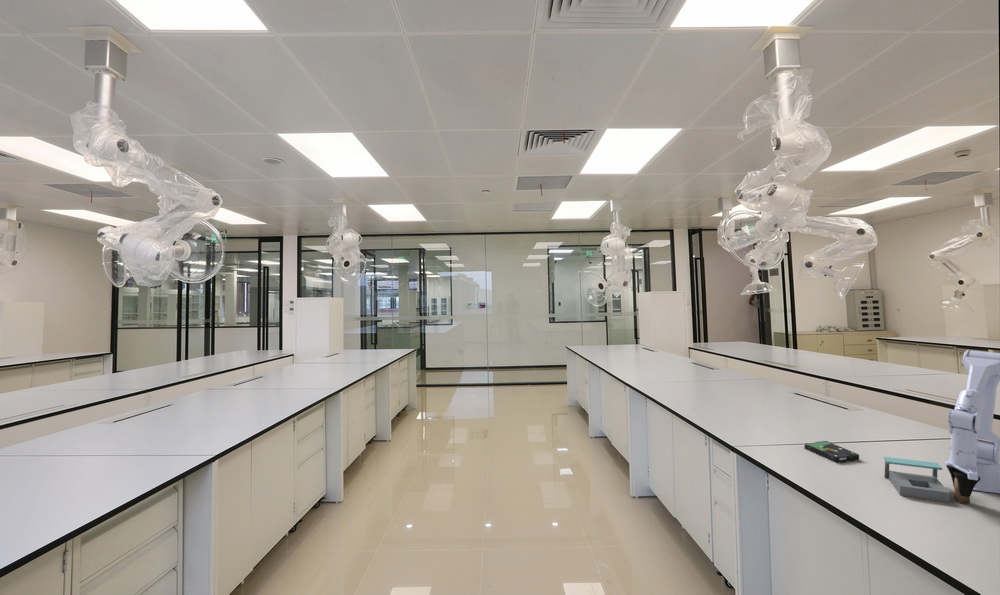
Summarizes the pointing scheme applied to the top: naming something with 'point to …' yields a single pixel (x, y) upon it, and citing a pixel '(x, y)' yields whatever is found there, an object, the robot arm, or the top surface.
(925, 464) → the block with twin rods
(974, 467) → the robot arm
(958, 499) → the peg
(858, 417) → the top surface
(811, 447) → the disk drive
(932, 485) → the socket block
